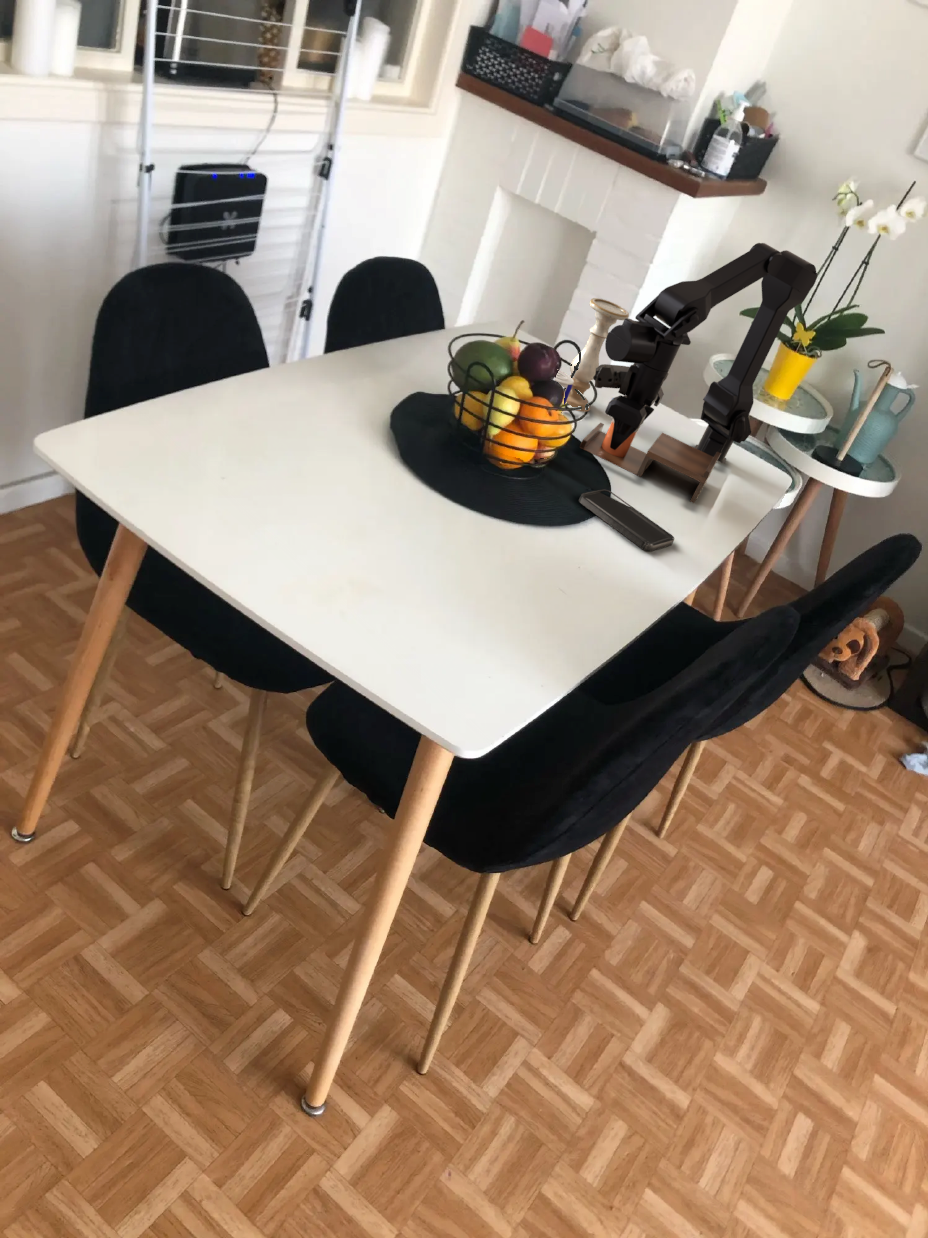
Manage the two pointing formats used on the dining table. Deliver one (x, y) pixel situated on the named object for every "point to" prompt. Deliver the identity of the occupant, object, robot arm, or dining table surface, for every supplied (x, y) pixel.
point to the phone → (627, 520)
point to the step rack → (657, 457)
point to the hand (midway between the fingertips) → (616, 444)
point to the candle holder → (593, 348)
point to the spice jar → (623, 448)
